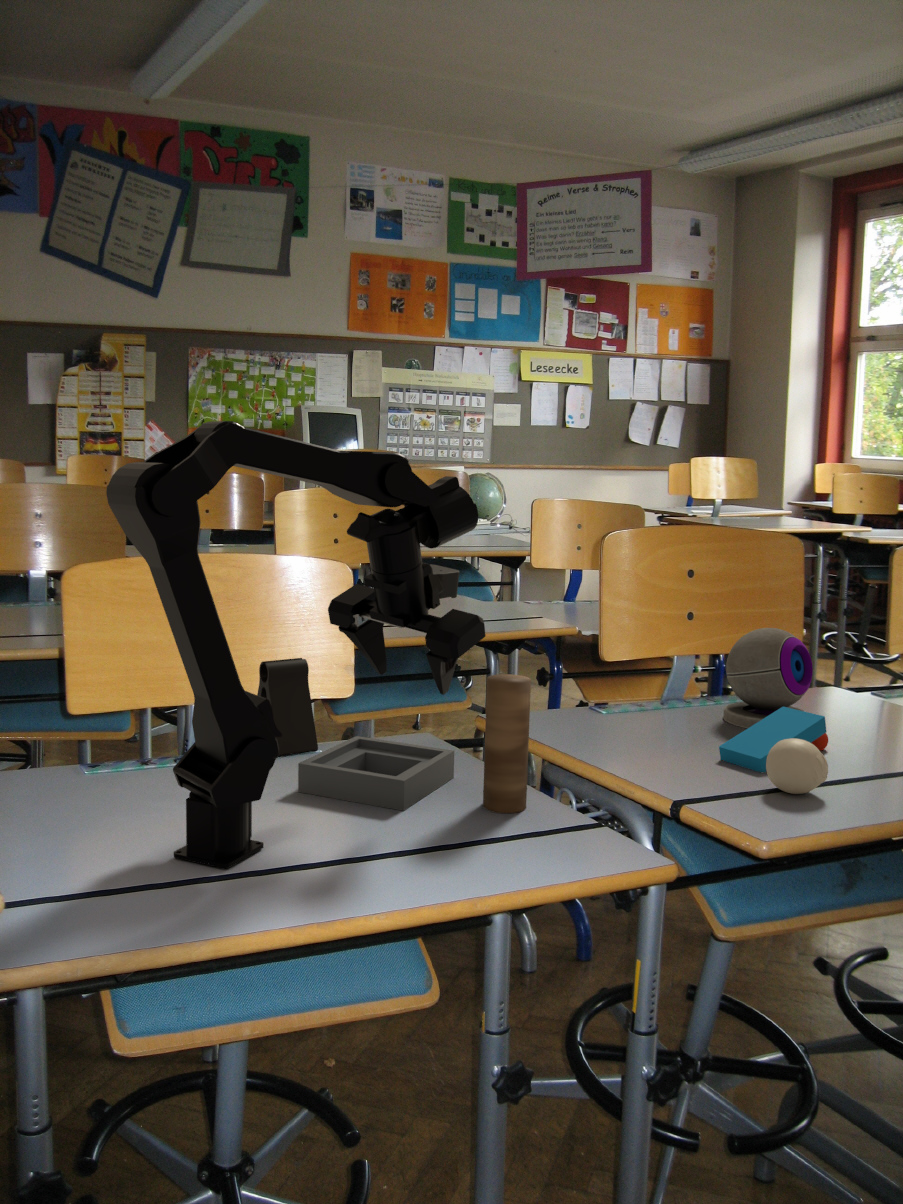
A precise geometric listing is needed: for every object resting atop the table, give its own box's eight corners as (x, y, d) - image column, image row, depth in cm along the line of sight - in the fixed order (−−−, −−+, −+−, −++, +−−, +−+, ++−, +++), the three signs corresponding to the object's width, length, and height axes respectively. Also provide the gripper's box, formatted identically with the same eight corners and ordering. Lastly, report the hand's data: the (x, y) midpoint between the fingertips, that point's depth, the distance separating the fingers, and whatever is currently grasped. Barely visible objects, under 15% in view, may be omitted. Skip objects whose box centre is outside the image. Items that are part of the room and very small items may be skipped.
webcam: (780, 736, 152) (787, 637, 150) (706, 719, 162) (712, 626, 160) (822, 723, 161) (829, 629, 159) (750, 707, 171) (756, 619, 169)
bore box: (403, 810, 115) (404, 780, 115) (298, 791, 121) (298, 763, 120) (453, 777, 128) (454, 750, 127) (356, 762, 133) (356, 736, 133)
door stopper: (318, 750, 138) (319, 664, 137) (277, 757, 135) (278, 668, 133) (288, 735, 145) (289, 653, 144) (249, 741, 142) (249, 656, 140)
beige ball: (819, 805, 121) (823, 751, 120) (757, 793, 125) (761, 740, 124) (832, 791, 127) (836, 739, 126) (773, 780, 130) (776, 729, 130)
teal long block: (766, 806, 135) (845, 751, 144) (760, 758, 133) (840, 706, 142) (724, 792, 140) (803, 740, 150) (718, 746, 138) (798, 696, 148)
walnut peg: (517, 816, 114) (522, 685, 112) (476, 809, 116) (480, 680, 114) (532, 803, 119) (537, 677, 117) (492, 796, 121) (496, 672, 119)
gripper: (507, 548, 112) (517, 669, 119) (378, 521, 122) (394, 633, 130) (447, 591, 104) (462, 717, 112) (315, 559, 115) (336, 676, 122)
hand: (413, 682), depth 119 cm, fingers open, 9 cm apart
